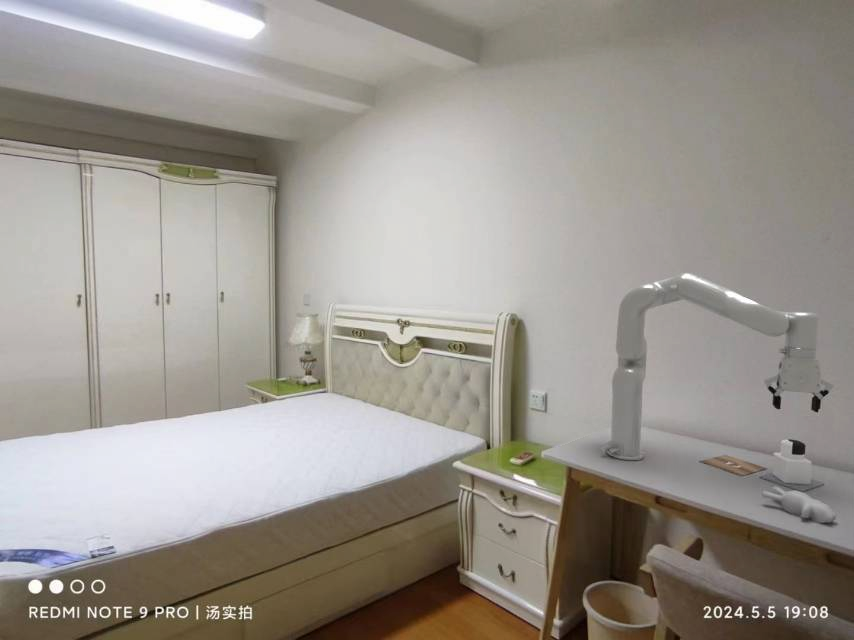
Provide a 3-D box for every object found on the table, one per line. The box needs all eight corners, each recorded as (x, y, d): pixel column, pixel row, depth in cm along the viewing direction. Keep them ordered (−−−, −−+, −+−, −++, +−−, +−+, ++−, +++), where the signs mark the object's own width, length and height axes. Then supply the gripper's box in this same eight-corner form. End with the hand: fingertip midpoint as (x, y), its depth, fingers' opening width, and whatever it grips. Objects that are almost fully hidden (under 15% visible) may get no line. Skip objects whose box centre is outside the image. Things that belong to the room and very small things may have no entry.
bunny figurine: (826, 514, 123) (761, 485, 136) (822, 533, 124) (757, 503, 137) (843, 505, 128) (778, 478, 141) (838, 523, 129) (774, 495, 142)
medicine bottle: (796, 475, 156) (799, 438, 156) (810, 485, 149) (813, 445, 148) (771, 474, 157) (774, 436, 157) (784, 483, 150) (787, 444, 149)
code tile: (741, 476, 157) (741, 475, 157) (699, 461, 169) (699, 461, 169) (767, 468, 163) (767, 468, 163) (725, 455, 176) (725, 454, 176)
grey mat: (802, 492, 145) (802, 490, 145) (759, 477, 156) (759, 476, 156) (824, 484, 151) (824, 483, 151) (780, 471, 161) (781, 469, 161)
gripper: (770, 353, 149) (766, 410, 151) (840, 357, 144) (835, 415, 145) (762, 350, 156) (758, 404, 158) (828, 353, 151) (824, 409, 153)
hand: (795, 409), depth 152 cm, fingers open, 9 cm apart
